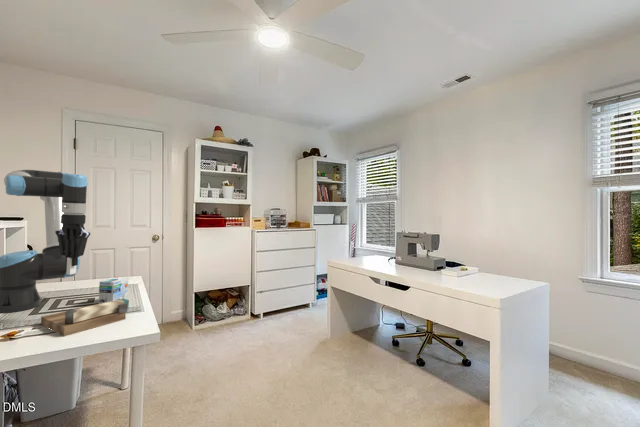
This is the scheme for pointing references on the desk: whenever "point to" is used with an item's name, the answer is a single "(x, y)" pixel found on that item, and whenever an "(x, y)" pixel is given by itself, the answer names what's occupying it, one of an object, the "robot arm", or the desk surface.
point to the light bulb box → (113, 289)
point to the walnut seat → (59, 326)
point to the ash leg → (93, 311)
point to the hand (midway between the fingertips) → (71, 273)
